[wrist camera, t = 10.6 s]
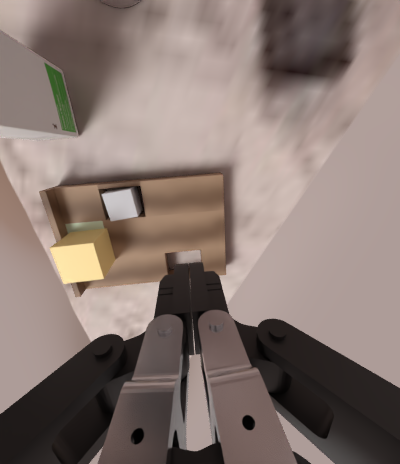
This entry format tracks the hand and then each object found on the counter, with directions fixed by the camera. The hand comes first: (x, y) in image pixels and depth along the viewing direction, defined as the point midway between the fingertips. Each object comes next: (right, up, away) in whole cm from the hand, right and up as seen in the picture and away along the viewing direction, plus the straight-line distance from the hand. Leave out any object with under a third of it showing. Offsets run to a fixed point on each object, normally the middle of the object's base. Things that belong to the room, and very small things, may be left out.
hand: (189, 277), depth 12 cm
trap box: (-8, +3, +25) cm, 26 cm away
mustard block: (-16, 0, +22) cm, 28 cm away
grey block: (-11, +8, +23) cm, 26 cm away
